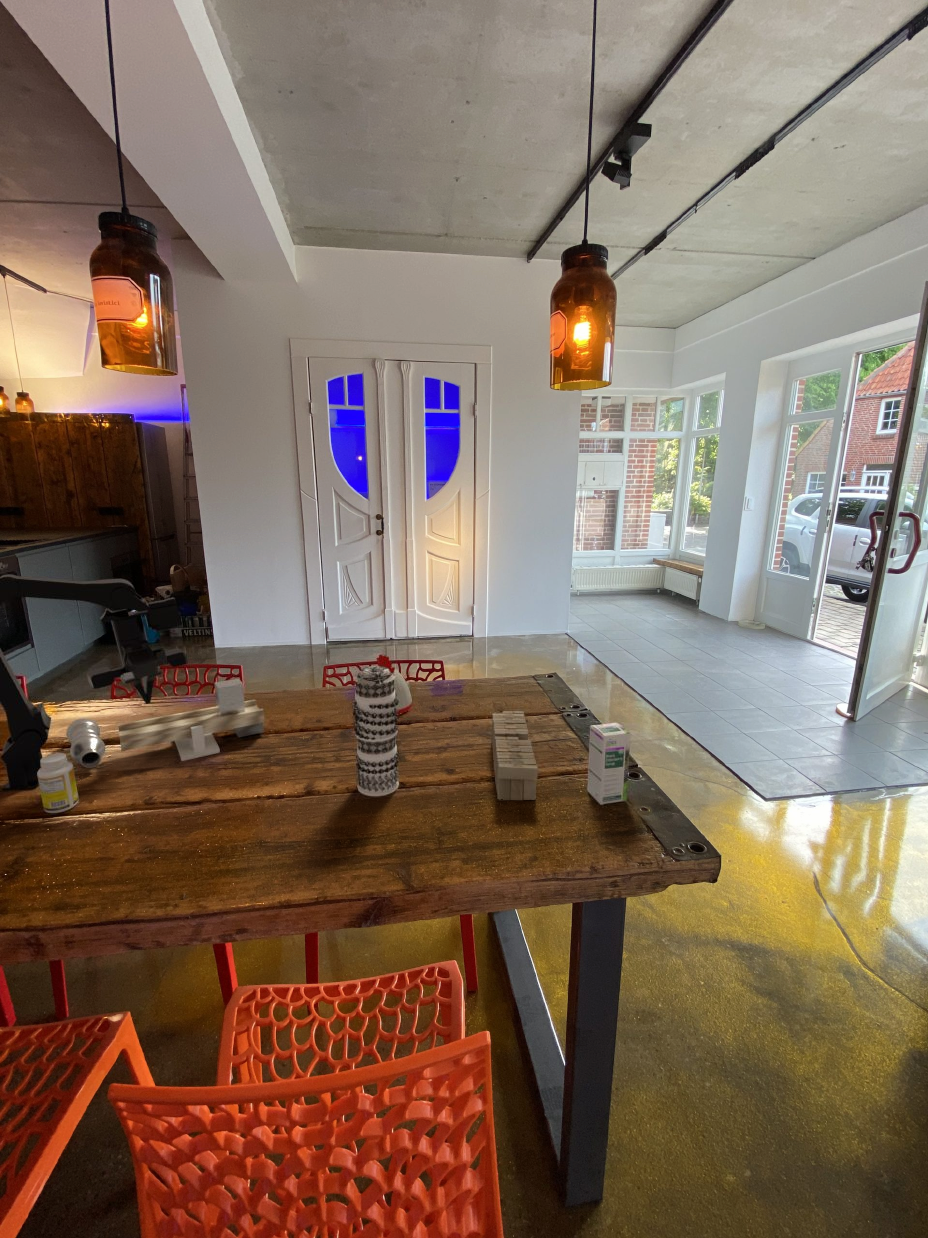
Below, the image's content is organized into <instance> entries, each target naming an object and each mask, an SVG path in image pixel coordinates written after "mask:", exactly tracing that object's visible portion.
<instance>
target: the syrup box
mask: <svg viewBox="0 0 928 1238" xmlns="http://www.w3.org/2000/svg"><path fill="white" fill-rule="evenodd" d="M588 743H589V747H588V749H589V750H588V768H587V769H588V770H587V788H586V789H587V792H588V793H589V794H590V796H591V797H593V798H594V799H595V800H596V802H597V803H598V804H599V805H601V806H602V805H606V804H607V805H608V804H613V803H619V802H626V801H627V796H628V783H629V781H628V780H629V762H630V747H631V732H630V731H629V730H628V729H626V728H625V727H624V726H623V725H621V724H619V723H618V722H617V721H616V722H612V723H603V724H596V725H594V724H593V725H592V724H591V725H590V726H589V742H588Z"/></svg>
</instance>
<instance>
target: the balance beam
mask: <svg viewBox="0 0 928 1238" xmlns="http://www.w3.org/2000/svg"><path fill="white" fill-rule="evenodd" d="M244 702H245V712H242V713H237V714H232V715H227V716H221V717H219V716H218V714H217V705H215V706H211V707H206V708H201V709H195V710H190V711H188V710H187V711H184V712H179V713H173V714H166V715H162V716H156V717H151V718H144V719H140V720H135V721H129V722H124V723H123V722H122V723H118V724H117V726H118V728H117V729H118V733H119V737H118V738H119V743H120V749H121V750H120V751H121V752H125V751H130V750H135V749H141V748H144V747H145V748H146V747H150V746H151V747H152V746H155V745H160V744H164V743H168V742H175V740H180V739H185V738H190V737H192V734H191V727H194V726H199V725H202V726H203V732H204V735H205V734H210V733H212V734H214V733H218V732H223V731H229V730H233V731H234V733H235V734H236V736H237V738H241V737H247V736H251V735H256V734H262V733H264V732H265V727H264V723H265V712H264V708H259V706H258V705H257V699H255V698H254V699H251V700H249V699H248V700H246V701H245V700H244Z"/></svg>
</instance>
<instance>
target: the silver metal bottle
mask: <svg viewBox="0 0 928 1238" xmlns="http://www.w3.org/2000/svg"><path fill="white" fill-rule="evenodd" d="M100 734H101V729H100V726H99V724H98V723H97V722H96V721H95V720H93V719H91V718H86V717H82V718H78V719H75V720H73V721H72V722H71V723H70V724H69V726H68V727H67V728H66V733H65V735H66V738H67V740H68V742H69V743H70V745H71V746H70V748H69V749H70V750H69V754H70V758H71V759H72V760H73V761H74V762H75V763H77V764H79V765H82V766H83V767H85V768H94V767H96V766H98V765H99V764H100V763H101V761H102V758H103V757H104V755H105V753H106V748H107V747H106V745H105V742H104V741H103V739H101V738H100Z"/></svg>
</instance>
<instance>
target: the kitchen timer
mask: <svg viewBox="0 0 928 1238" xmlns="http://www.w3.org/2000/svg"><path fill="white" fill-rule="evenodd" d="M375 659H376V663H377V666H381V667H385V668H387V669H389V671H390V672H391V673H393V674H394V675H395V676H396V677H395V678H394V690H395V693H397V694H398V696H397V698H396V697H395V698H396V699H397V700H398V701H399V703H398V705H397V706H395V708H396V709H398V714H400V713H404V712H406V711H408V710H409V709H410V708H411V707H412V708H413V701H412V700H413V699H412V695H411V694H412V693H411V692H410V687H411V686H410V682H409V681H407V682H406V679H405V678H404V677H403V676H402V674H401V673H400V671H398V670H397V669H396V667H395V666H394V667H392V665H393V662H392V661H390V657H389V656H387V655H386V654H385V655H383V654H379V655H378V657H376V658H375ZM412 708H411V709H412ZM408 712H409V711H408ZM406 713H407V712H406ZM404 714H405V713H404Z"/></svg>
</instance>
